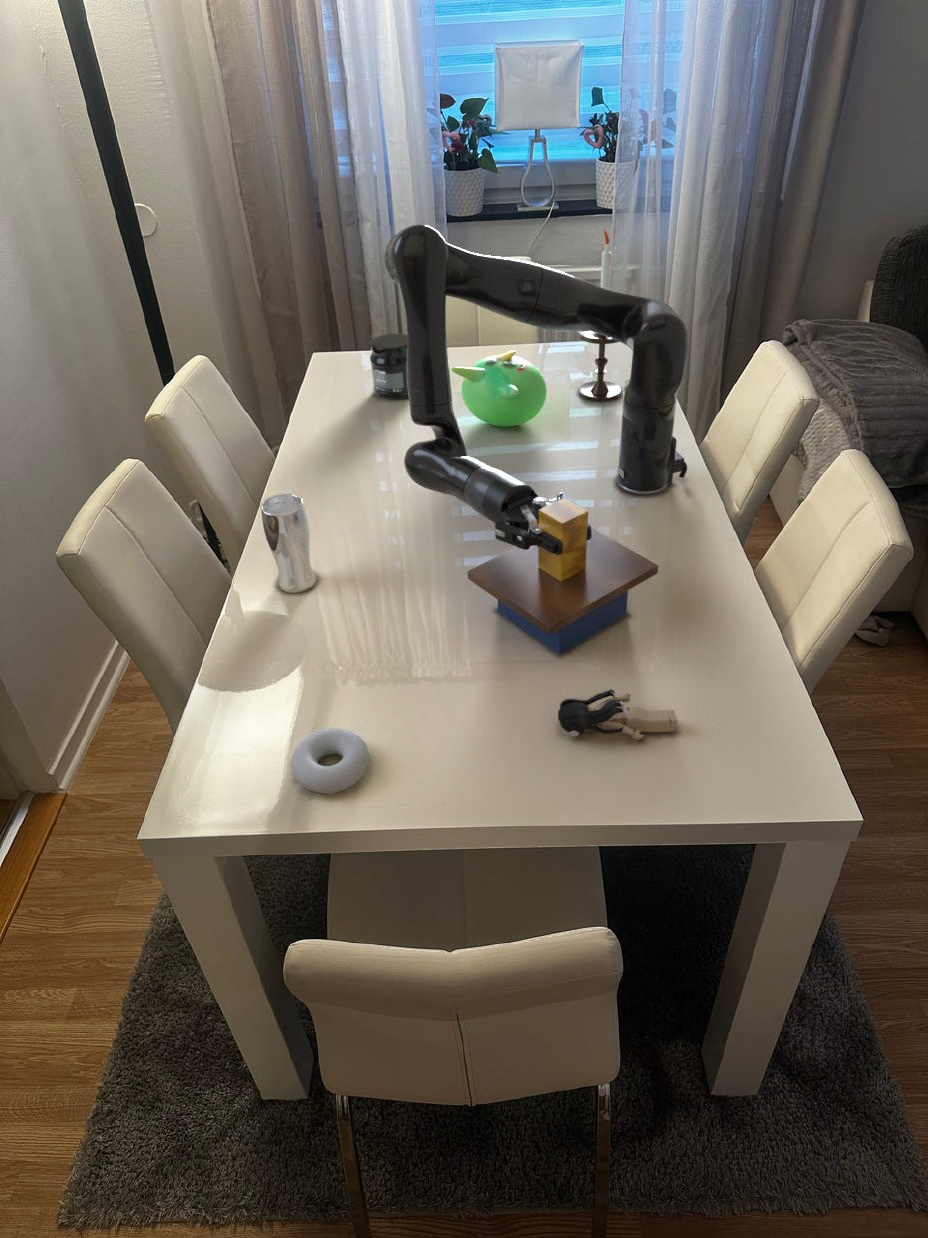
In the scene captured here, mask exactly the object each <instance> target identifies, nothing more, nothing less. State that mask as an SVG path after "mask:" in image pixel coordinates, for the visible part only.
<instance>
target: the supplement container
mask: <svg viewBox="0 0 928 1238" xmlns="http://www.w3.org/2000/svg"><path fill="white" fill-rule="evenodd" d="M370 351H371V354H370V356H369V361H370V366H371V376H372V382H373V391H374V393H375V394H376V395H377V396H378V397H380V398H382V399H385V400H402V399H406V398H407V399H408V398H409V396H408V385H407V334H404V333H386V334H381V335H378V336H376V337H374V338H373V339H372V340H371V341H370Z"/></svg>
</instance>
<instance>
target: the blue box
mask: <svg viewBox="0 0 928 1238" xmlns="http://www.w3.org/2000/svg"><path fill="white" fill-rule="evenodd" d="M628 595H629V590H628V591H626V592H624V593H622V594H621V595H619V596H617V597H615V598H614V599H612V600H610V601H608V602H607V603H605V604H603V605H601V606H600V607H598V608H596V609H594V610H593V611H591V612H589V613H587V614H586V615H584V616H582V617H580V618H579V619H577V620H575V621H573V622H572V623H570V624H568V625H566V626H565V627H563V628H561V629H559V630H558V631H556V632H554V633H552V634H551V635H548V634H546V633H545V632H544V631H542V630H541V629H539V628H538V627H536V626H535V625H534V624H532V623H531V622H529V621H528V620H526V619H525V618H523V617H522V616H521V615H519V614H518V613H516V612H515V611H513V610H512V609H511V608H509V607H508V606H506V605H505V604H503V603H502V602H500V601H499V600H498V599H497V612H498V613H500V614H501V615H503V616H504V617H506V618H507V619H508V620H510V621H511V622H513V623H514V624H515V625H517V626H518V627H520V628H521V629H523V630H524V631H526V633H528V634H530V635H531V636H533V637H534V638H535V639H536V640H538V641H540V642H541V643H542V644H544V645H545V646H547V647H548V648H550V650H552V651H554V652H555V653H557V654H558V655H561V654H563V653H564V652H566V651H568V650H569V649H571V648H573V647H575V646H577V645H578V644H580V643H581V642H584V641H585V640H586V639H588V638H590V637H591V636H594V635H595V634H597V633H598V632H600V631H602V630H604V629H605V628H607V627H609V626H611V625H612V624H614V623H615V622H617V621H619V620H620V619H623V618H624V617H626V616H627V608H628V597H629V596H628Z"/></svg>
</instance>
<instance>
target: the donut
mask: <svg viewBox="0 0 928 1238" xmlns="http://www.w3.org/2000/svg"><path fill="white" fill-rule="evenodd" d="M329 755H338V756H341V757H342V759H341V760H340V761H339V762H337V763H335V764H333V765H322V764H319V761H320V760H321V759H322V758H324V757H326V756H329ZM369 762H370V753H369V749H368V745H367V743H366V741H364V740H363V738H362V737H361V736H360V735H358V734H357V733H355V732H353V731H352V730H348V729H344V728H325V729H322V730H321V729H320V730H318V731H315V732H314V733H311V734H310V735H309V734H308V735H307V736H306V737H305V738H304V739H303V740H301V741H300V742H299V743H298V745H297V746H296V747H295V749H294V750H293V753H292V756H291V760H290V766H291V774H292V775H293V777H294V779H295V781H297V783H298V784H299V785H300V786H302V787H303V788H305V789H306V790H308V791H310V792H314V793H318V794H334V793H338V792H342V791H344V790H346V789H348V788H350V787H352V786H354V785H355V784H356V783H358V782H359V781H360V780H361V779H362V777H363V776H364V774H365V773H366V771H367V769H368V767H369Z"/></svg>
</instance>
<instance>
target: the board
mask: <svg viewBox="0 0 928 1238" xmlns="http://www.w3.org/2000/svg"><path fill="white" fill-rule="evenodd" d="M591 529H592V535H591V539H589V540H587V548H586V569H584V570H582V571H580V572H579V573H577V574H575V575H573V576H571V577H569V578H567V579H565V580H564V581H562V582H561V581H559V580H557V579H556V578H554V577H553V576H551V575H550V574H548V573H546V572H545V571H543V570H542V569H540V568H539V567H538V547H535V546H534V545H533V546H530V548H529V549H528V550H524V549H521V548H518V547H516V546H514V547H513V548H511V549H509V550H507V551H505V552H503V553H500V554H499V555H497V556H495V557H493V558H491V559H489V560H487V561H485V562H483V563H480V564H479V565H477V566H474V567H472V568H471V569H469V570H467V580H469V581H470V582H472V583H473V584H474V585H476V586H477V587H479V589H481V590H483V591H484V592H486V593H488V594H489V595H491V596H492V597H493V598H495V600H497V601H498V600H499V601H500V602H502V603H503V604H505V605H506V606H508V607H509V608H511V609H512V610H513V611H515V612H516V613H518V614H519V615H521V616H522V617H523V618H525V619H526V620H528V621H529V622H531V623H532V624H534V625H535V626H536V627H538V628H539V629H541V630H542V631H544V632H545V633H546V634H548V635H551V634H552V633H554V632H556V631H558V630H559V629H561V628H563V627H565V626H566V625H568V624H570V623H572V622H573V621H575V620H577V619H579V618H580V617H582V616H584V615H586V614H587V613H589V612H591V611H593V610H594V609H596V608H598V607H600V606H601V605H603V604H605V603H607V602H608V601H610V600H612V599H614V598H615V597H617V596H619V595H621V594H622V593H624V592H626V591H628V592H629V591H630V590H632V589H633V588H635V587H637V586H638V585H640V584H642V583H643V582H645V581H647V580H649V579H650V578H652V577H654V576H656V575H658V573H659V564H657V563H655V562H653V561H652V560H650V559H648V558H646V557H645V556H642V555H641V554H639V553H637V552H636V551H634V550H632V549H630V548H628V547H626V546H625V545H623V544H621V543H619V542H618V541H616V540H614V539H612V538H611V537H608V536H607V535H605V534H604V533H602V532H600V531H598V530H596V529H594V528H592V527H591Z"/></svg>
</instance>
